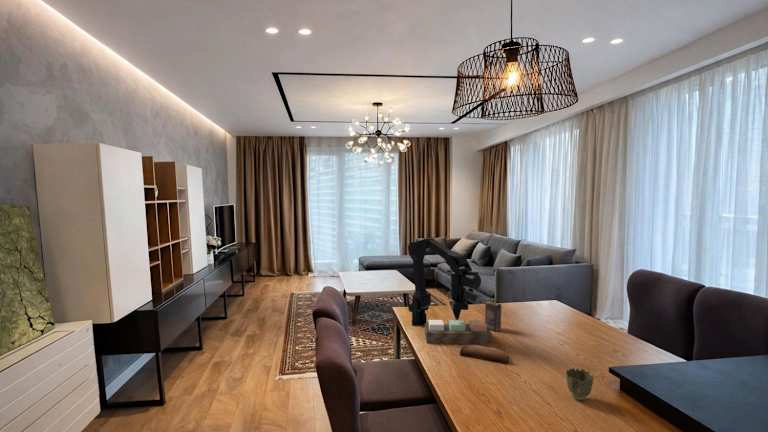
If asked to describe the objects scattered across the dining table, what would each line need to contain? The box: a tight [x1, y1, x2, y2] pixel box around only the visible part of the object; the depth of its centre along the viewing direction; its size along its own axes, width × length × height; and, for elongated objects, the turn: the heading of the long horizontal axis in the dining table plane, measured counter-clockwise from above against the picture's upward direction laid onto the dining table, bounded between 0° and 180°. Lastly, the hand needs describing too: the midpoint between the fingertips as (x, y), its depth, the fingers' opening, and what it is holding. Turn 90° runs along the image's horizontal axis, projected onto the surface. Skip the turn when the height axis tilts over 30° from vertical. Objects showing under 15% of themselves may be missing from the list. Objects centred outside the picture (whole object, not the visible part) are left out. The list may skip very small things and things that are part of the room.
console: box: [424, 322, 492, 345], centre depth 159 cm, size 27×11×4 cm, turn 88°
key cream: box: [428, 319, 445, 331], centre depth 159 cm, size 6×6×4 cm
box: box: [484, 301, 502, 332], centre depth 170 cm, size 6×4×12 cm
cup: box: [565, 367, 595, 402], centre depth 112 cm, size 8×7×8 cm
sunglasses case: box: [459, 344, 510, 364], centre depth 142 cm, size 18×7×7 cm
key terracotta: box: [469, 319, 487, 331], centre depth 158 cm, size 6×6×4 cm
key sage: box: [448, 319, 466, 331], centre depth 159 cm, size 6×6×4 cm
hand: (456, 319), depth 158 cm, fingers closed
